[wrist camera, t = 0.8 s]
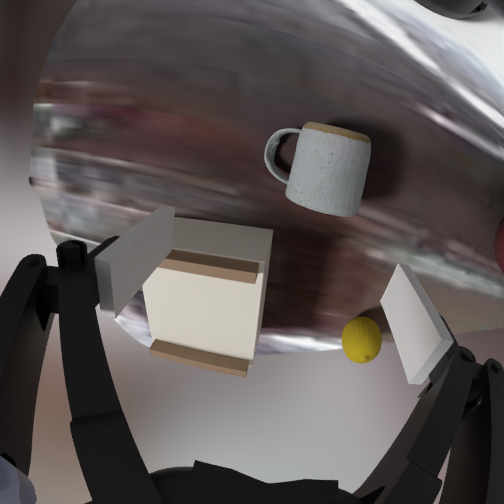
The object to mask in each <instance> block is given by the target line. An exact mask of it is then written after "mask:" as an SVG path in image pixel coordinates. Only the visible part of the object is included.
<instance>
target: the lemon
mask: <svg viewBox="0 0 504 504" xmlns="http://www.w3.org/2000/svg"><path fill="white" fill-rule="evenodd" d="M381 343H382V337H381V332H380V329H379V327H378V325H377V324H376V322H374V321H373V320H372V319H370V318H368V317H363V316H361V317H356V318H353V319H352V320H350V321H349V322H348V323H347V324H346V326H345V327H344V329H343V333H342V346H343V349H344V352H345V354H346V355H347V357H348V358H349V359H351V361H353V362H356V363H367V362H370V361H371V360H373V359H374V358H375V357H376V356H377V355H378V353H379V351H380V348H381Z"/></svg>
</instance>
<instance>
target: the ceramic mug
mask: <svg viewBox="0 0 504 504" xmlns="http://www.w3.org/2000/svg"><path fill="white" fill-rule="evenodd" d="M293 132H294V133H300V135H299V138H298V142H297V148H296V153H295V157H294V161H293V165H292V168H291V172H290V177H289V178H287V177H286V176H284V175H283V174H282V173H281V172H279V170H278V169H277V168H276V166H275V163H274V156H275V152H276V148H277V146H278V144H279V143H280V138H281V137H282V136H283V135H285V134H287V133H293ZM370 155H371V141H370V139H369V138H368V136H366V135H364V134H361V133H358V132H354V131H351V130H347V129H344V128H340V127H335V126H331V125H326V124H322V123H316V122H308V123H306V124H305V125H304V126H303V128H302V130H301V129H295V128H286V129H281V130H279V131H277V132H276V133H274V134H273V135H272V136H271V138H270V139H269V141H268V143H267V145H266V149H265V163H266V165H267V167H268V169H269V171H270V172H271V173H272V174H273V175H274V176H275V177H276V178H277V179H279V180H280V181H282V182H283V183H285V184H287V189H286V196H287V197H288V198H289V199H290V200H291V201H293V202H295V203H296V204H299V205H301V206H304V207H306V208H308V209H311V210H314V211H318V212H322V213H326V214H332V215H337V216H353V215H356V214H357V212H358V211H359V206H360V202H361V197H362V193H363V189H364V185H365V180H366V174H367V169H368V165H369V161H370Z"/></svg>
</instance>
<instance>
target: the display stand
mask: <svg viewBox="0 0 504 504" xmlns="http://www.w3.org/2000/svg"><path fill="white" fill-rule="evenodd" d="M272 237H273V230H271V229H264V228H257V227H250V226H242V225H235V224H227V223H220V222H212V221H204V220H196V219H188V218H180V217H174V223H173V234H172V247H171V252H170V253H169V254H168V255H167V256H166V258H165V259H164V260H163V261H162V262H161V264H160V265H159V266H158V267H157V268H156V269H155V271H154V272H153V273H152V274H151V275H150V277H149V278H148V279H147V280H146V281H145V283H144V284H143V285H142V286H143V292H144V298H145V304H146V310H147V315H148V321H149V326H150V331H151V335H152V340H153V343H152V345H151V347H150V348H149V350H150V353H151V355H154V356H157V357H161V358H164V359H168V360H171V361H175V362H179V363H183V364H187V365H191V366H195V367H199V368H203V369H208V370H212V371H217V372H221V373H226V374H231V375H236V376H242V377H246V374H247V369H248V367H252V366H253V361H254V357H255V353H256V348H257V344H258V339H259V335H260V331H261V325H262V317H263V310H264V302H265V294H266V286H267V279H268V270H269V262H270V254H271V246H272Z"/></svg>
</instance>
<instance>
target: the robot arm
mask: <svg viewBox="0 0 504 504" xmlns="http://www.w3.org/2000/svg"><path fill="white" fill-rule="evenodd" d="M415 1H416V2H417V3H419V4H421V5H422V6H424V7H426V8H427V9H429V10H431V11H433V12H435V13H438V14H440V15H443V16H446V17H449V18H455V19H467V18H470V17H473V16H475V15H477V14H479V13H481V12H482V11H483V10H484V9H485V8H486V7H487V5H488V3H489V1H490V0H415ZM174 213H175V208H174V207H169V206H164V205H162V206H161V207H159V208H158V209H157V210H155V211H154V212H153V213H151V214H150V215H148V216H147V217H146V218H144V219H143V220H142V221H140V222H139V223H138V224H136V225H135V226H134V227H132V228H131V229H130V230H128V231H127V232H126V233H125V234H123V235H122V236H121V237H119V236H114V237H111V238H108V239H107V240H105V241H104V242H103V243H101V245H99V246H97V247H96V248H95V249H94V250H92V251H91V252H90V253H88V254H87V245H86V243H84V242H82V241H79V240H69V241H65V242H63V243H61V244H59V245H58V246H57V248H56V252H57V260H58V266H59V267H55V266H47V264H46V259H45V257H44V256H42V255H39V254H31V255H28V256H26V257H24V258H23V259H22V260H21V261H20V262H19V264H18V266H17V267H16V269H15V271H14V273H13V275H12V276H11V278H10V280H9V281H8V283H7V285H6V287H5V289H4V291H3V292H2V294H1V296H0V504H35V503H36V500H37V497H36V494H35V489H34V486H33V484H32V482H31V481H30V479H29V478H28V474H29V468H30V462H31V450H32V433H33V423H34V413H35V405H36V398H37V391H38V385H39V380H40V374H41V369H42V364H43V359H44V354H45V350H46V346H47V341H48V338H49V334H50V330H51V326H52V323H53V319H54V316H55V313H56V314H59V327H60V341H61V351H62V360H63V368H64V376H65V383H66V389H67V394H68V400H69V405H70V410H71V415H72V421H71V422H70V429H71V434H72V438H73V442H74V446H75V449H76V453H77V456H78V460H79V463H80V466H81V469H82V472H83V475H84V478H85V481H86V484H87V487H88V490H89V492H90V495H91V497H92V501H90V502H87V503H85V504H433V503H434V501H435V499H436V497H437V495H438V493H439V491H440V489H441V486H442V480H440V479H439V478H437V477H438V474H439V472H440V470H441V468H442V466H443V463H444V461H445V459H446V457H447V454H448V452H449V449H450V447H451V450H450V456H449V462H448V467H447V473H446V477H445V481H444V486H443V490H442V494H441V498H440V502H439V504H504V370H503V367H502V366H501V364H500V363H499V362H498V361H496V360H495V359H492V358H490V359H488V360H487V361H486V363H485V364H484V365H481V364H478V363H476V359H475V356H474V355H473V354H472V352H471V351H470V350H468V349H467V348H465V347H462V346H459V345H458V343H457V341H456V340H455V338H454V336H453V334H452V332H450V329H449V327H448V326H447V323H446V322H445V320H444V318H443V317H442V316H441V315H440V314H439V313H438V312H437V310H436V309H435V307H434V305H433V303H432V302H431V300H430V299H429V297H428V295H427V294H426V292H425V290H424V289H423V287H422V286H421V284H420V282H419V281H418V279H417V278H416V276H415V275H414V273H413V272H412V270H411V269H410V267H409V266H407V265H403V264H400V263H398V265H397V267H396V269H395V272H394V274H393V276H392V278H391V280H390V282H389V284H388V287H387V289H386V291H385V293H384V295H383V297H382V299H381V301H380V302H381V304H382V307H383V310H384V312H385V315H386V318H387V320H388V323H389V326H390V328H391V331H392V334H393V337H394V340H395V343H396V345H397V348H398V351H399V354H400V357H401V360H402V363H403V367H404V370H405V373H406V376H407V379H408V383H409V384H422V383H423V381H424V380H425V379H426V378H427V376H428V375H429V378H430V381H431V382H430V383H429V384H428V385H427V386H426V388H425V389H424V390H423V391H422V392H421V393H420V394H419V396H418V398H419V397H421V398H420V399H419V401H418V403H417V405H416V406H415V408H414V410H413V412H412V414H411V415H410V417H409V419H408V420H407V422H406V424H405V425H404V427H403V428H402V430H401V432H400V433H399V435H398V436H397V438H396V439H395V441H394V442H393V444H392V445H391V447H390V448H389V450H388V451H387V453H386V454H385V455H384V457H383V458H382V460H381V461H380V462H379V464H378V465H377V466H376V468H375V469H374V470H373V472H372V473H371V474H370V476H369V477H368V478H367V479H366V481H365V482H364V483H363V485H361V487H360V488H359V489H357V490H356V491H355V492H354V493H353V494H351V493H349V492H347V491H345V490H342V489H339V488H338V480H312V479H303V480H296V481H289V482H280V483H265V482H263V481H260V480H257V479H255V478H252V477H250V476H247V475H245V474H242V473H240V472H238V471H235V470H233V469H230V468H225V467H221V466H217V465H212V464H208V463H204V462H200V461H197V460H195V462H194V466H193V467H173V468H166V469H162V470H158V471H155V472H153V473H150V474H149V473H148V471H147V469H146V466H145V464H144V462H143V460H142V458H141V456H140V453H139V451H138V448H137V446H136V444H135V441H134V439H133V437H132V434H131V432H130V429H129V426H128V423H127V421H126V418H125V416H124V413H123V411H122V408H121V405H120V402H119V400H118V396H117V393H116V390H115V387H114V384H113V380H112V377H111V373H110V370H109V366H108V363H107V359H106V355H105V351H104V347H103V343H102V339H101V334H100V329H99V325H98V320H97V315H96V310H95V307H96V306H97V305H98V304H100V310H101V313H102V314H104V315H107V316H110V317H112V318H115V319H116V317H117V316H118V315H119V314H120V312H121V311H122V310H123V309H124V307H125V306H126V305H127V304H128V302H129V301H130V300H131V299H132V297H133V296H134V295H135V294H136V292H137V291H138V290H139V289H140V287H141V286H142V285H143V284H144V283H145V281H146V280H147V279H148V278H149V277H150V275H151V274H152V273H153V272H154V271H155V269H156V268H157V267H158V266H159V265H160V264H161V262H162V261H163V260H164V259H165V258H166V256H167V255H168V254H169V253H170V252H171V247H172V234H173V223H174ZM479 403H480V404H479Z"/></svg>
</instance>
